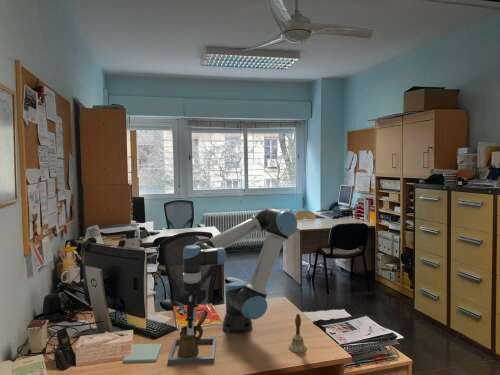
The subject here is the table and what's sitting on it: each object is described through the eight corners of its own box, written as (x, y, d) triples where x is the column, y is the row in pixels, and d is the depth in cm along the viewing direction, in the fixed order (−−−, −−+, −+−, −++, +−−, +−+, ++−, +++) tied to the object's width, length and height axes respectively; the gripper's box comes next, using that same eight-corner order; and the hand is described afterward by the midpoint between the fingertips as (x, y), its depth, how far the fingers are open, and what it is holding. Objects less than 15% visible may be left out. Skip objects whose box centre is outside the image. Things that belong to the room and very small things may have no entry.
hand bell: (308, 345, 179) (308, 311, 178) (304, 354, 172) (304, 318, 170) (290, 343, 182) (290, 309, 181) (286, 351, 174) (286, 316, 173)
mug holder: (216, 341, 184) (215, 337, 184) (214, 362, 165) (213, 358, 164) (174, 342, 183) (174, 338, 183) (167, 364, 164) (167, 359, 164)
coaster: (162, 345, 180) (162, 343, 180) (156, 361, 166) (156, 359, 166) (131, 346, 180) (131, 344, 179) (123, 362, 166) (122, 360, 166)
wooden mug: (209, 355, 171) (208, 315, 170) (178, 359, 168) (177, 318, 167) (207, 346, 180) (206, 308, 178) (177, 349, 177) (176, 310, 175)
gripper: (186, 272, 184) (186, 316, 185) (179, 290, 159) (179, 340, 160) (202, 272, 184) (202, 316, 185) (197, 290, 159) (198, 340, 161)
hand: (192, 328), depth 173 cm, fingers open, 13 cm apart
